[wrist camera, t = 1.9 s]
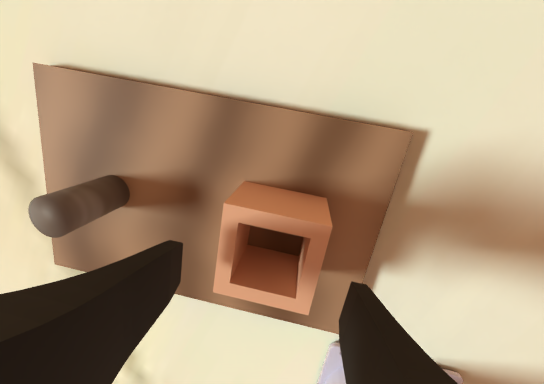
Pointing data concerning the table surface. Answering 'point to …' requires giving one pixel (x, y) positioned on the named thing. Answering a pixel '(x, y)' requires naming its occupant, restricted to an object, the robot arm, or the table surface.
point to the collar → (268, 263)
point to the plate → (202, 179)
